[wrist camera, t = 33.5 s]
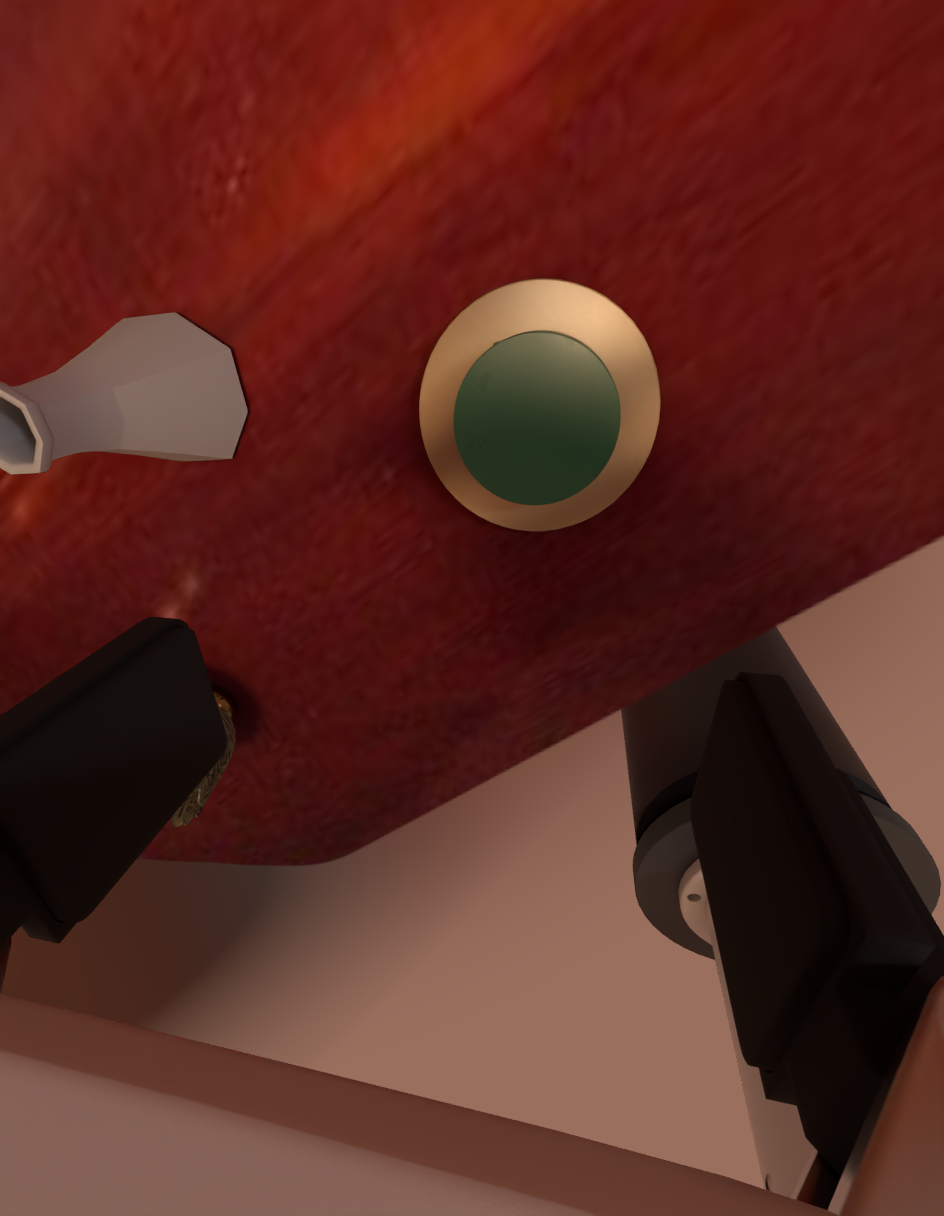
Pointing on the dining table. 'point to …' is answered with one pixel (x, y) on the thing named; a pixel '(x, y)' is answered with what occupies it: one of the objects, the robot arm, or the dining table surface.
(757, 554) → the dining table surface
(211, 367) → the flask
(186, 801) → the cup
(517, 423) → the jar lid
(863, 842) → the robot arm
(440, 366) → the coaster
